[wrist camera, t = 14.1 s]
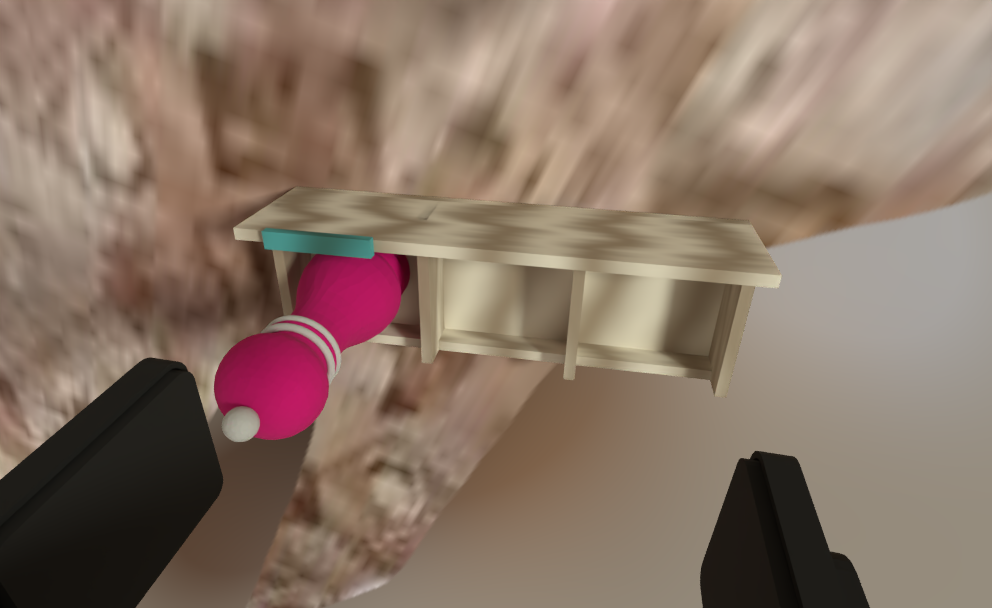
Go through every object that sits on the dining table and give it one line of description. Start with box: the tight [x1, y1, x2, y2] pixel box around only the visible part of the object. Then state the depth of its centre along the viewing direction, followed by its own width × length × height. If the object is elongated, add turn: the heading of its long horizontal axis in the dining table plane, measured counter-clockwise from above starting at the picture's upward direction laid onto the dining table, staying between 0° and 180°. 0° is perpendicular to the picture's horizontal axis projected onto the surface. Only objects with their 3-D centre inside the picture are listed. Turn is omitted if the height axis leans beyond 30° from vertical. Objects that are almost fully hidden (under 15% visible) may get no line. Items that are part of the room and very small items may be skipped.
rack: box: [233, 186, 782, 397], centre depth 41 cm, size 33×12×9 cm, turn 89°
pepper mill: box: [214, 252, 410, 442], centre depth 38 cm, size 7×7×20 cm
